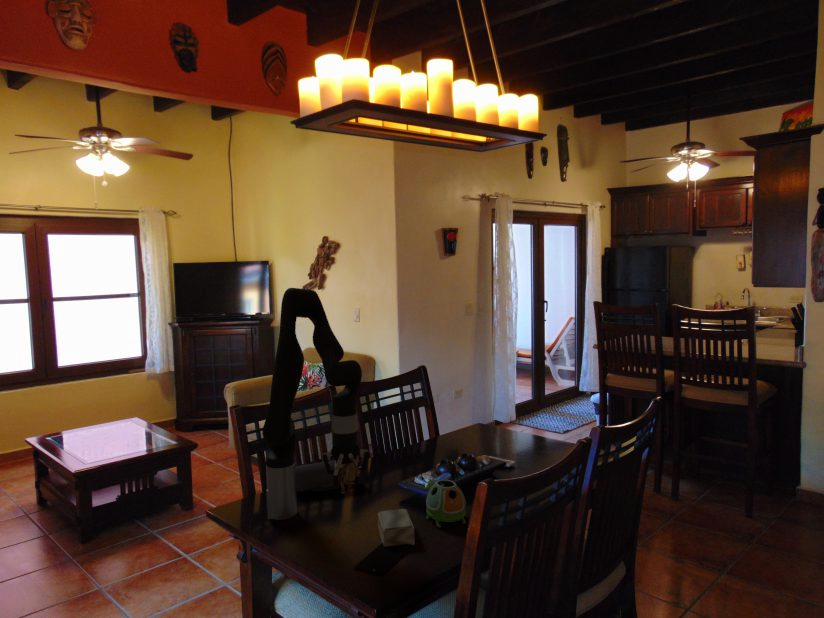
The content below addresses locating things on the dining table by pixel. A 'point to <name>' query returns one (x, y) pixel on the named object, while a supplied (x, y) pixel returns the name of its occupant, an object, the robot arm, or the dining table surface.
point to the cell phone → (382, 559)
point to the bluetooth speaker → (315, 477)
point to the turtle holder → (445, 502)
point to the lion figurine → (347, 475)
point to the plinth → (395, 527)
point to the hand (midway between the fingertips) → (346, 485)
